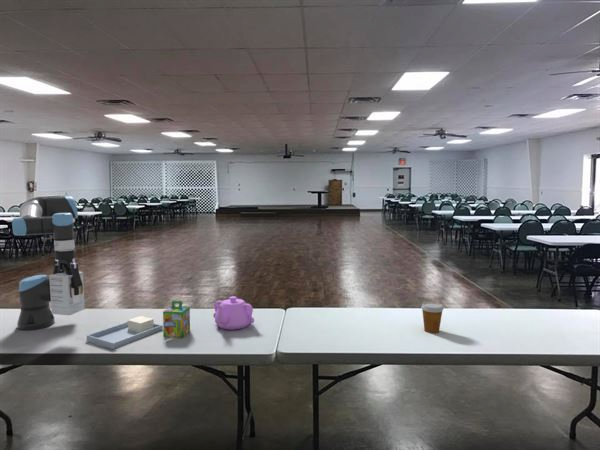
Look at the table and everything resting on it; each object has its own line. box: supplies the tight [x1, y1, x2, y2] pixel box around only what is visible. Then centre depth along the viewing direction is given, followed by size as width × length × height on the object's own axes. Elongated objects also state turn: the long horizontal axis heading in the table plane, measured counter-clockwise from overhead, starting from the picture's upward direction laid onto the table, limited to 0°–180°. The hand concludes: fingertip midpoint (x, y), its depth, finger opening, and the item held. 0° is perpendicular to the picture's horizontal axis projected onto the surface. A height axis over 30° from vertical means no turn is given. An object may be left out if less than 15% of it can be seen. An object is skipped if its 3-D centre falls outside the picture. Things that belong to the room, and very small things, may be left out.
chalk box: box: [162, 300, 191, 339], centre depth 189 cm, size 9×9×15 cm
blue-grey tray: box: [86, 321, 163, 350], centre depth 187 cm, size 18×25×3 cm
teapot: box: [213, 296, 255, 331], centre depth 197 cm, size 22×22×14 cm
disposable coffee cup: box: [420, 301, 444, 334], centre depth 190 cm, size 10×10×12 cm
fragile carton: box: [127, 315, 155, 333], centre depth 194 cm, size 9×7×4 cm
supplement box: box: [48, 271, 86, 317], centre depth 182 cm, size 10×9×17 cm
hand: (68, 300), depth 182 cm, fingers closed on supplement box, 11 cm apart
